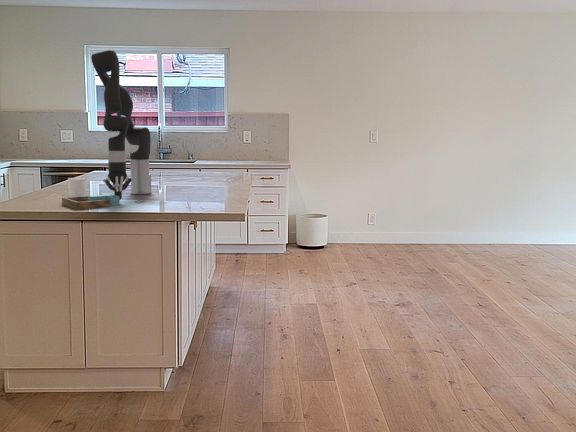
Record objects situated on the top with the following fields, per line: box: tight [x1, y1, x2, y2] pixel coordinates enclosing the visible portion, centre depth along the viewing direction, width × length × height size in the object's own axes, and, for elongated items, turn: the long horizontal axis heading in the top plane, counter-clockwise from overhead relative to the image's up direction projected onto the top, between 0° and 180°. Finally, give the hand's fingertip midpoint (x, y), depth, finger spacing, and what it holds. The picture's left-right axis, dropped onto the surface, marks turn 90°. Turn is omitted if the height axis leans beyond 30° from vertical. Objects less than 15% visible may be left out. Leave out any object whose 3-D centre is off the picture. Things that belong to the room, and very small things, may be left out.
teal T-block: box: [87, 192, 121, 207], centre depth 270 cm, size 11×12×4 cm
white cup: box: [67, 177, 87, 197], centre depth 282 cm, size 8×8×10 cm
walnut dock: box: [61, 195, 110, 210], centre depth 266 cm, size 14×17×3 cm
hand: (118, 199), depth 275 cm, fingers closed
